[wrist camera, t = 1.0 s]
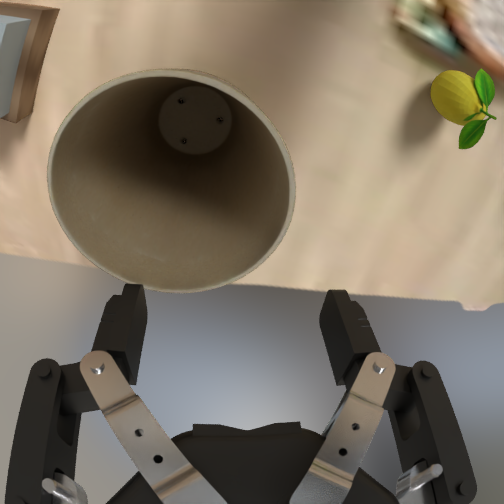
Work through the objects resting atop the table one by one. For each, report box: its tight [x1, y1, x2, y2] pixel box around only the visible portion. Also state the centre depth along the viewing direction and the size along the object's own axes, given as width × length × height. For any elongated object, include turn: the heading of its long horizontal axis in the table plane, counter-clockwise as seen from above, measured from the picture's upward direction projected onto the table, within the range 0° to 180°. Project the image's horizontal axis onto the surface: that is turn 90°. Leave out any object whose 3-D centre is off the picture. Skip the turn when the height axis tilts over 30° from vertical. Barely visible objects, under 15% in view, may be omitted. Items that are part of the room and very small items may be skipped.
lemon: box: [430, 69, 496, 149], centre depth 24 cm, size 7×6×10 cm
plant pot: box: [47, 69, 296, 293], centre depth 24 cm, size 15×15×16 cm
